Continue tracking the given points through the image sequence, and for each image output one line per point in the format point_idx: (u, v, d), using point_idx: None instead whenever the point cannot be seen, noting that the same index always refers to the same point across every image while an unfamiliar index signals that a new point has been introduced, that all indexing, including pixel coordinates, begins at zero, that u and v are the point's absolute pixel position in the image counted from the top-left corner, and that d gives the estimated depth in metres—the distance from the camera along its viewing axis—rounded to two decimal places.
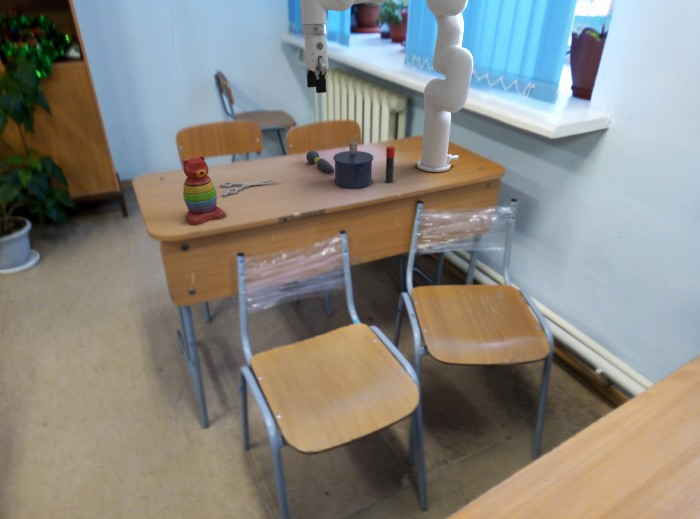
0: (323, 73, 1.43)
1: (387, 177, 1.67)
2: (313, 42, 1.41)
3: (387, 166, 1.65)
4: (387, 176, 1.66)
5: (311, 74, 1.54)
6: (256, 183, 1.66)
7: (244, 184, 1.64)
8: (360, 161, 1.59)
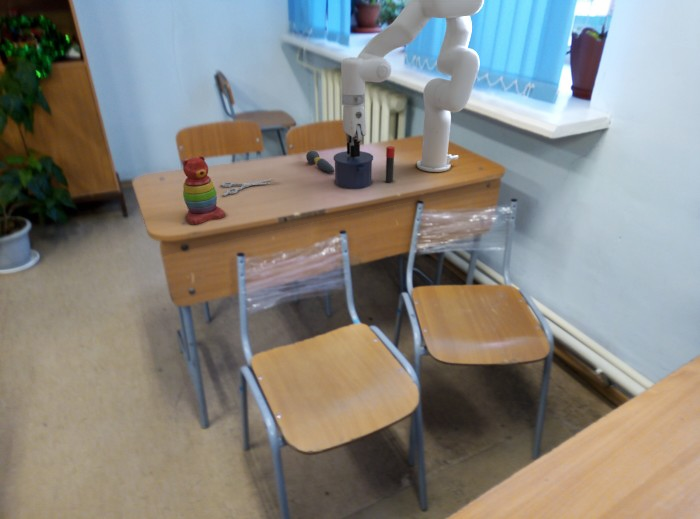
0: None
1: (387, 177, 1.67)
2: (352, 112, 1.51)
3: (387, 166, 1.65)
4: (387, 176, 1.66)
5: (351, 142, 1.62)
6: (256, 183, 1.66)
7: (244, 184, 1.64)
8: (360, 161, 1.59)
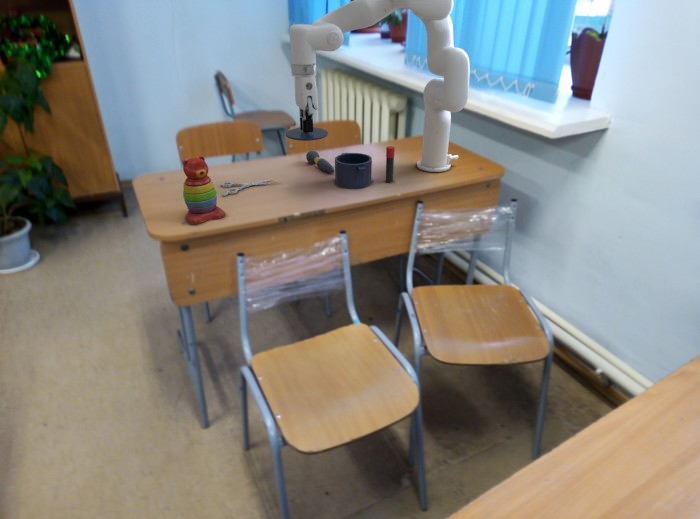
0: None
1: (387, 177, 1.67)
2: (302, 83, 1.42)
3: (387, 166, 1.65)
4: (387, 176, 1.66)
5: None
6: (256, 183, 1.66)
7: (244, 184, 1.64)
8: (313, 137, 1.49)
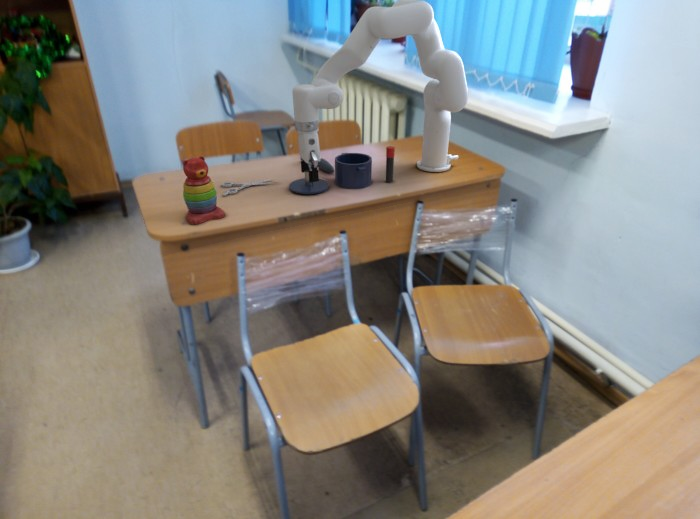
0: (315, 166, 1.52)
1: (387, 177, 1.67)
2: (305, 139, 1.50)
3: (387, 166, 1.65)
4: (387, 176, 1.66)
5: (304, 161, 1.63)
6: (256, 183, 1.66)
7: (244, 184, 1.64)
8: (315, 190, 1.58)
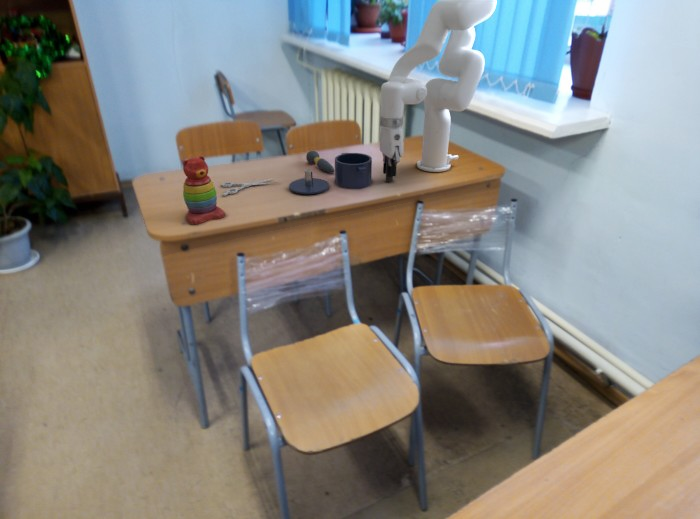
0: None
1: (387, 177, 1.67)
2: (391, 134, 1.55)
3: None
4: None
5: None
6: (256, 183, 1.66)
7: (244, 184, 1.64)
8: (315, 190, 1.58)
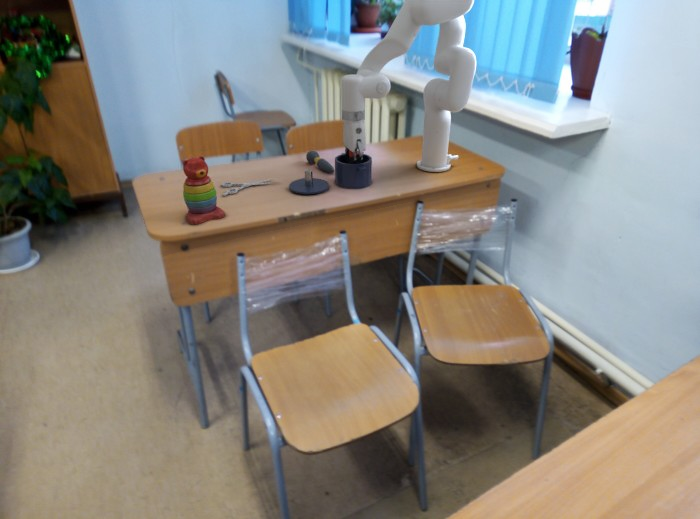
0: (360, 156, 1.57)
1: None
2: (353, 128, 1.54)
3: None
4: None
5: None
6: (256, 183, 1.66)
7: (244, 184, 1.64)
8: (315, 190, 1.58)
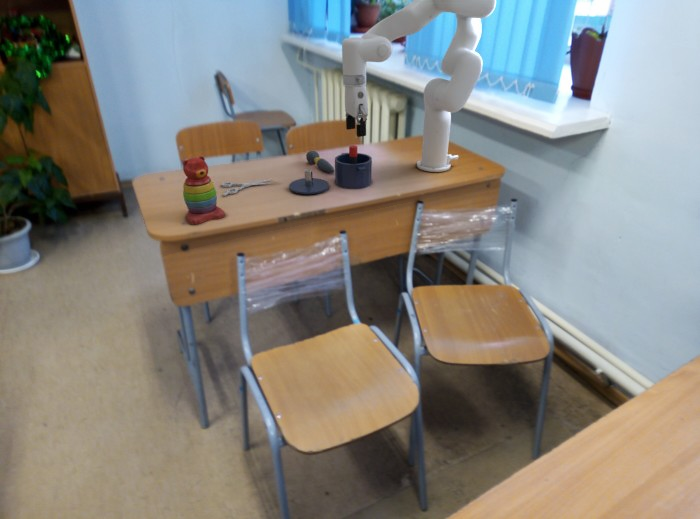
0: (364, 119, 1.54)
1: None
2: (354, 92, 1.52)
3: None
4: None
5: (350, 117, 1.65)
6: (256, 183, 1.66)
7: (244, 184, 1.64)
8: (315, 190, 1.58)
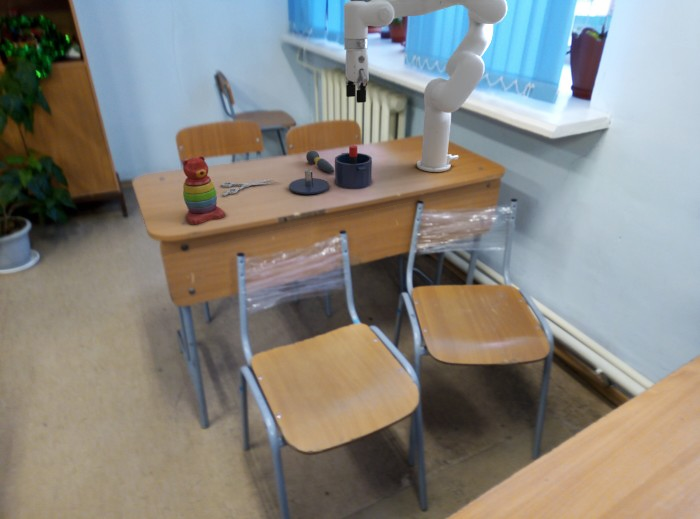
0: (364, 84, 1.53)
1: None
2: (355, 56, 1.51)
3: None
4: None
5: (350, 84, 1.64)
6: (256, 183, 1.66)
7: (244, 184, 1.64)
8: (315, 190, 1.58)
